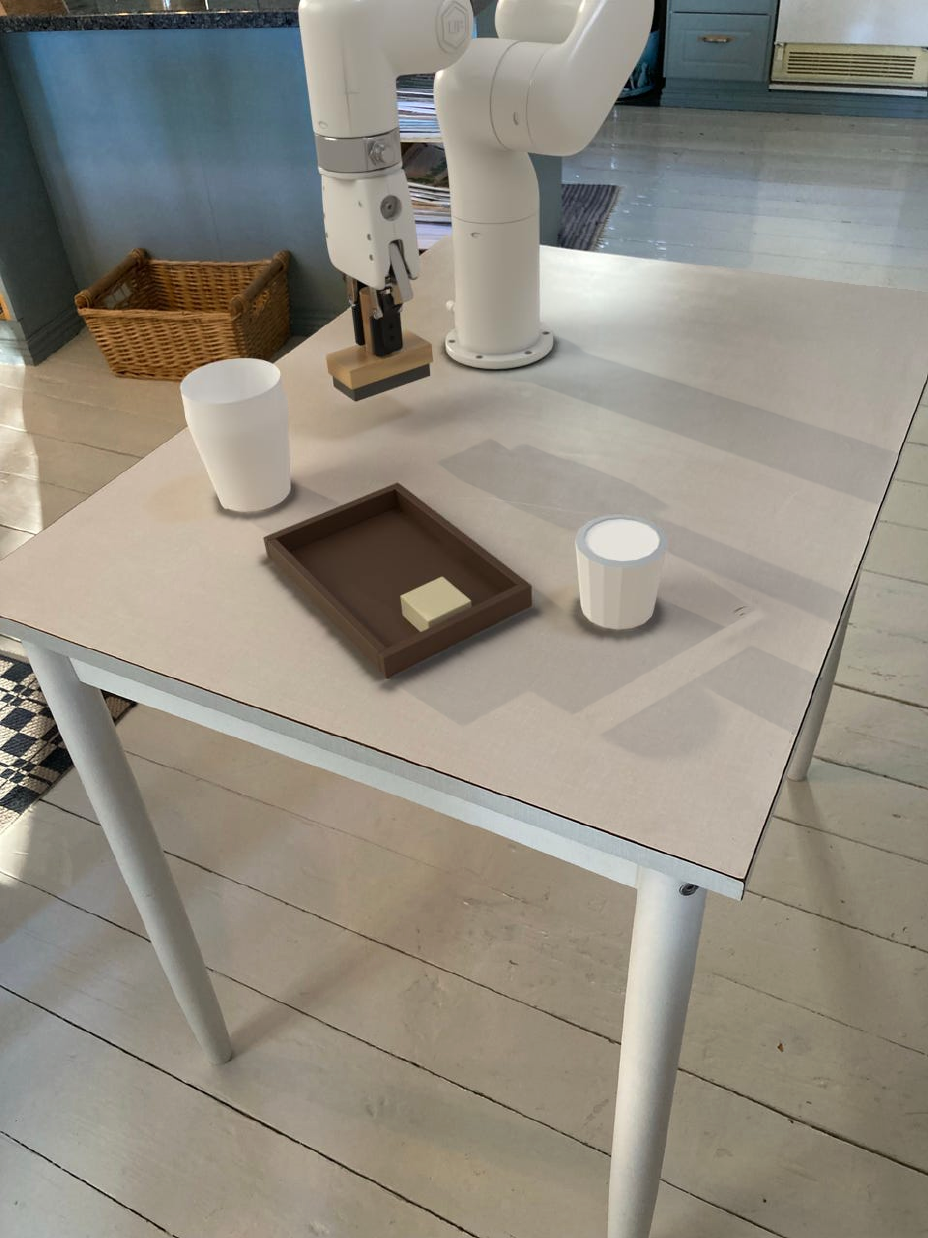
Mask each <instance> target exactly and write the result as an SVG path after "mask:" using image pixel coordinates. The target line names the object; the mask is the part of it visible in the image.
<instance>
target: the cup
mask: <svg viewBox="0 0 928 1238" xmlns="http://www.w3.org/2000/svg"><path fill="white" fill-rule="evenodd" d="M179 385H180V386H179V390H180V394H181V399H182V404H183V410H184V416H185V422H186V424H187V427H188V429H189V432H190V435H191V437H192V439H193V441H194V444H195V446H196V448H197V451H198V453H199V456H200V458H201V460H202V463H203V465H204V467H205V469H206V472H207V474H208V476H209V479H210V481H211V484H212V486H213V488H214V490H215V493H216V496H217V498H218V500H219V502H220V504H221V506H222V508H223V509H225V510H228V509H229V510H231V511H235V512H241V513H251V512H259V511H263V510H267V509H270V508H272V507H274V506H276V505H278V504H280V503H281V502H283V501H285V499H286V498H287V497H289V494H290V492H291V456H290V455H291V453H290V452H291V451H290V423H289V422H290V421H289V420H290V419H289V402H288V398H287V395H286V391H285V387H284V384H283V379H282V374H281V371H280V369H279V367H278V366H276V365H275V364H274V363H272V362H270V361H266V360H264V359H260V358H259V359H258V358H250V357H249V358H248V357H236V358H228V359H222V360H217V361H213V362H210V363H207V364H204V365H202V366H200V367H198V368H195V369H194V370H192V371H191V372H189V373H188V374H187V375H186V376H185V377H183V379H182V381H181V382H180V384H179Z"/></svg>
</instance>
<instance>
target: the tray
mask: <svg viewBox="0 0 928 1238" xmlns="http://www.w3.org/2000/svg"><path fill="white" fill-rule="evenodd" d="M262 538H263V543H264V547H265V553H266V556H267V558H268V559H269V560H270V561H271V563H273V564H274V565H275V567H276V568H278V569H279V571H280V572H281V573H283V574H284V575H285V577H286V578H287V579H289V581H290V582H291V583H292V584H293V585H294V586H295V587H296V589H298V590H299V591H300V592H301V594H303V595H304V597H306V598H307V599H308V600H309V602H311V603H312V604H313V606H315V608H316V609H317V610H318V611H319V612H320V613H322V615H323V616H324V617H325V618H326V620H328V621H329V622H330V623H331V624H332V625H333V626H334V627H335V628H336V629H337V630H338V631H339V632H340V633H341V635H342V636H344V637H345V638H346V639H347V640H348V642H350V644H352V645H353V647H355V648H356V649H357V651H358V652H359V653H360V654H361V655H362V656H363V657H364V658H365V659H366V660H367V661H368V662H369V664H371V665H372V666H373V667H374V668H375V669H376V670H377V671H378V672H379V673H380V674H381V675H382V676H383V677H384V678H385V679H386V680H388V679H389V678H392V677H393V676H395V675H397V674H399V673H401V672H404V671H405V670H407V669H409V668H411V667H413V666H415V665H417V664H419V663H421V662H424V661H425V660H427V659H429V658H431V657H434V656H436V655H437V654H439V653H441V652H443V651H445V650H447V649H449V648H451V647H453V646H455V645H457V644H459V643H461V642H463V641H465V640H468V639H470V638H471V637H473V636H475V635H478V634H479V633H481V632H483V631H485V630H487V629H489V628H491V627H493V626H495V625H497V624H499V623H501V622H503V621H505V620H507V619H509V618H511V617H512V616H515V615H517V614H519V613H521V612H523V611H525V610H527V609H528V608H531V607H532V606H533V589H532V587H533V586H532V584H530V583H529V582H528V581H526V579H524V578H523V577H522V576H520V575H519V574H517V573H516V572H515V571H513V569H511V568H510V567H508V566H507V565H506V564H504V563H503V562H502V561H501V560H499V559H498V558H497V557H495V556H494V555H493V554H492V553H491V552H489V551H487V550H486V548H484V547H483V546H481V545H480V544H479V543H477V542H476V541H475V540H474V539H472V538H471V537H469V536H468V535H467V534H466V533H464V531H462V530H461V529H459V528H458V527H457V526H456V525H454V524H453V523H452V522H451V521H449V520H447V518H445V517H444V516H443V515H441V514H440V513H439V512H437V511H436V510H435V509H433V508H432V507H431V506H429V504H427V503H426V502H424V501H423V500H422V499H420V498H419V497H418V496H416V494H414V493H413V492H411V491H410V490H409V489H408V488H406V487H405V486H403V485H402V484H401V483H399V482H394V483H392V484H390V485H387V486H385V487H382V488H380V489H378V490H375V491H373V492H371V493H368V494H365V495H363V496H361V497H357V498H356V499H354V500H351V501H348V502H346V503H344V504H342V505H338V506H336V507H334V508H331V509H329V510H326V511H323V512H322V513H320V514H316V515H314V516H311V517H309V518H306V519H305V520H302V521H299V522H297V523H294V524H293V525H290V526H287V527H285V528H282V529H280V530H278V531H275V532H273V533H270V534H268V535H265V536H263V537H262ZM440 577H444V578H445V579H446V580H447V581H448V582H450V583H451V584H452V585H453V586H454V587H455V588H457V589H458V590H459V591H460V592H461V593H463V594H464V595H465V596H466V597H467V598H468V599H470V600H471V608H469V609H467V610H465V611H463V612H461V613H459V614H457V615H455V616H453V617H451V618H449V619H447V620H445V621H442V622H440V623H438V624H436V625H434V626H432V627H430V628H428V629H426V630H424V631H422V632H420V631H419V630H418V629H417V628H416V627H415V626H414V625H413V624H412V623H410V622H409V621H408V620H407V619H406V618H405V617H404V616H403V614H402V606H401V597H400V596H401V595H403V594H406V593H408V592H410V591H412V590H414V589H416V588H418V587H421V586H423V585H425V584H427V583H429V582H431V581H434V580H436V579H438V578H440Z"/></svg>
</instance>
